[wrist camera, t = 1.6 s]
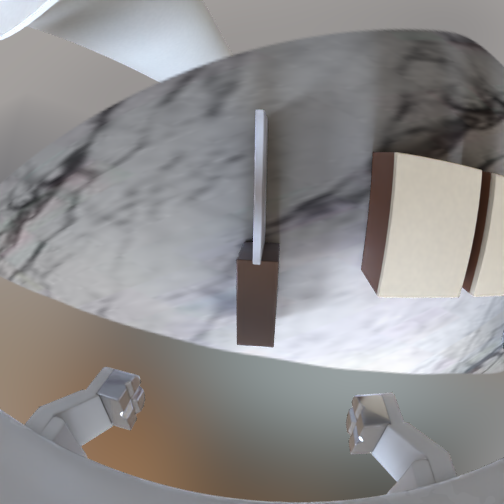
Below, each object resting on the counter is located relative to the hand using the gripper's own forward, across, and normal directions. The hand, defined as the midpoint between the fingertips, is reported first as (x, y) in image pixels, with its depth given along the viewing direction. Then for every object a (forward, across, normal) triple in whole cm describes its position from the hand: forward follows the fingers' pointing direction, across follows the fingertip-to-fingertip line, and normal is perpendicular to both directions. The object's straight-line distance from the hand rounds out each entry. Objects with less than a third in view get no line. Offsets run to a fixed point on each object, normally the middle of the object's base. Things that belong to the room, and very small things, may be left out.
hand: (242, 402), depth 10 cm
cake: (+10, -9, -5) cm, 15 cm away
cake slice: (+10, -15, -5) cm, 19 cm away
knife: (+10, 0, -4) cm, 11 cm away
